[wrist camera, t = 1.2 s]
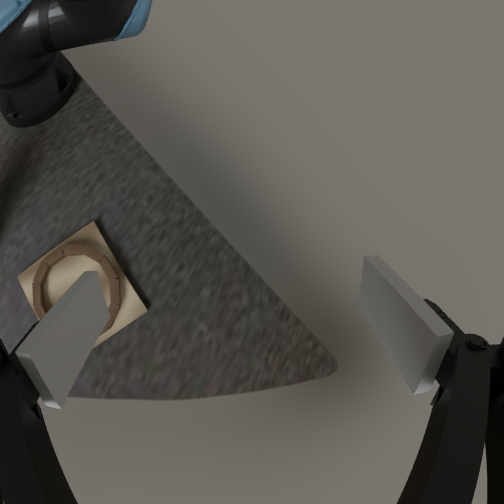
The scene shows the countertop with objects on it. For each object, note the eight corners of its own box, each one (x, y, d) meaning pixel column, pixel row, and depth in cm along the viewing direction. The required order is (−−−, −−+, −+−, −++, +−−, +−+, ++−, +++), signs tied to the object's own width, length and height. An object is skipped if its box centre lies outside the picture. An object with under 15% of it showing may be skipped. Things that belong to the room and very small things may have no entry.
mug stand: (20, 277, 32) (12, 275, 30) (95, 222, 37) (91, 217, 34) (69, 365, 32) (63, 368, 30) (148, 310, 37) (147, 310, 35)
